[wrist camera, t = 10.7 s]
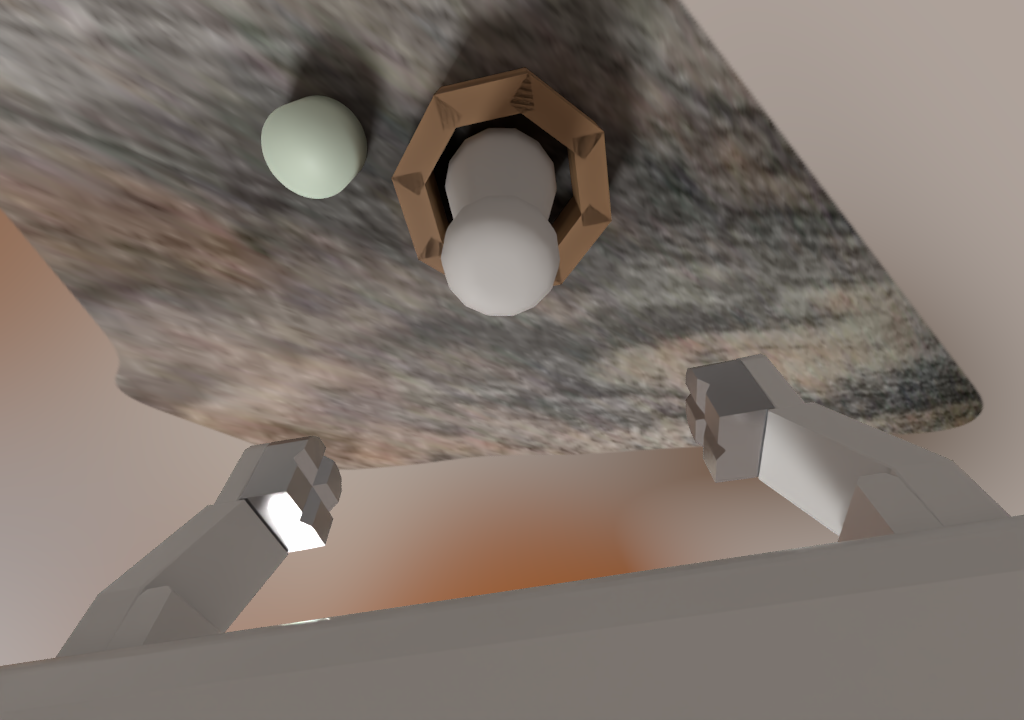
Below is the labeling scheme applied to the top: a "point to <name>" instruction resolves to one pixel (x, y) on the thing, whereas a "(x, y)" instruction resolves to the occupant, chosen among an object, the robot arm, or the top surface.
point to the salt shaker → (500, 223)
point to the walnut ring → (490, 102)
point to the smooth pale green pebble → (314, 146)
